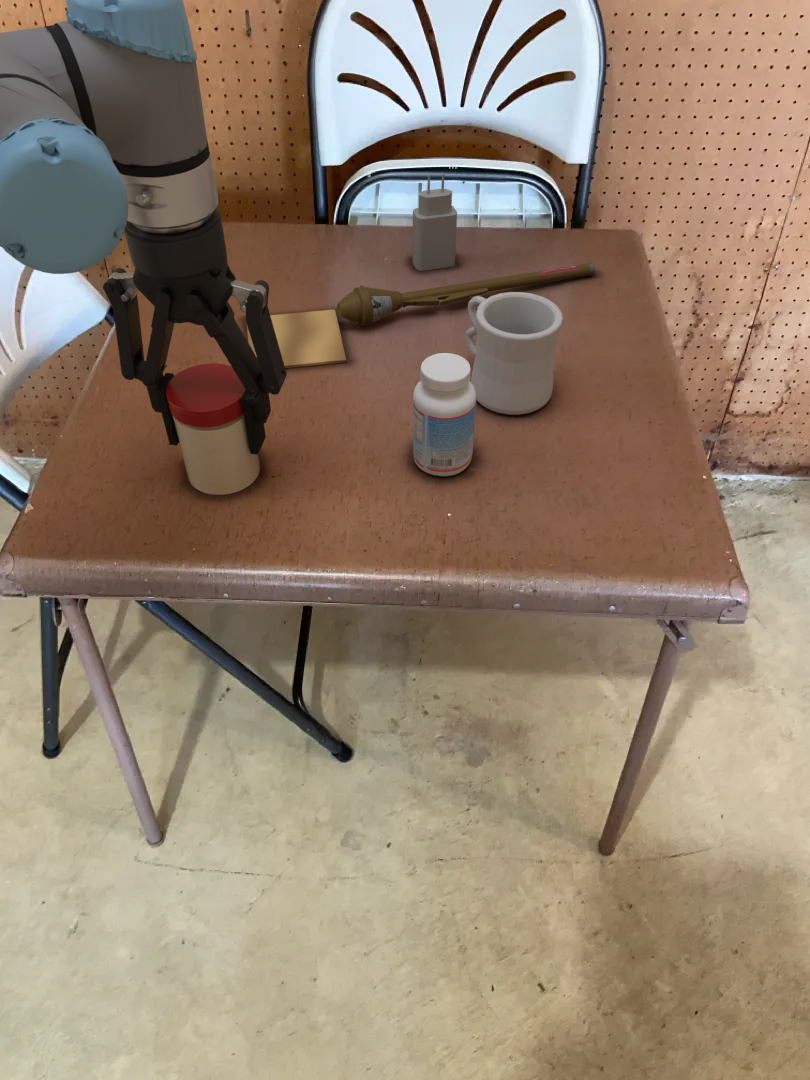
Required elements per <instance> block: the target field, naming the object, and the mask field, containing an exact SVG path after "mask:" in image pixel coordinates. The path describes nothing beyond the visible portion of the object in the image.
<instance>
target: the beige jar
mask: <svg viewBox="0 0 810 1080" xmlns="http://www.w3.org/2000/svg"><path fill="white" fill-rule="evenodd" d="M173 419H174V423H175V427H176V431H177V435H178V439H179V443H178V444H179V447H180V451H181V455H182V460H183V463H184V467H185V471H186V475H187V478H188V481H189V483H190V484H191V486H192V487H193V488H194V489H196V490H198V491H199V492H201V493H204V494H207V495H214V496H224V495H231V494H235V493H238V492H240V491H242V490H245V489H247V488H248V487H249V486H251V485H252V484H253V483H254V482H255V481H256V480H257V478H258V476H259V474H260V470H261V463H260V457H259V454H258V455H257V454H251V453H250V448H249V442H248V436H247V430H246V425H245V419H244V413H243V414H242V415H241V416H239V417H238V418H237V419H235V420H233V421H231V422H229V423H226V424H223V425H220V426H215V427H193V426H189V425H186V424H183V423H181V422H179V421H178V420H176V419H175V418H174V417H173Z"/></svg>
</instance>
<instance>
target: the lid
mask: <svg viewBox="0 0 810 1080" xmlns="http://www.w3.org/2000/svg"><path fill="white" fill-rule="evenodd" d="M245 390H246V389H245V388H244V386H243V384H242V383H241V381H240V379H239V378H238V376H237V374H236V373H235V371H234V369H233V368H232V366H231V365H230V364H224V363H215V362H214V363H213V362H211V363H201V364H197V365H193V366H190V367H187V368H185V369H183V370H181V371H180V372H178V373H176V374H174V377H173V378H172V379H171V380H170V382H169V383H168V385H167V388H166V396H167V400H168V404H169V408H170V411H171V414H172V415H173V417H174V418H175V419H176V420H178V421H179V422H181V423H183V424H186V425H189V426H193V427H215V426H220V425H223V424H226V423H229V422H231V421H233V420H235V419H237V418H238V417H239V416H241V415H242V414H243V407H242V402H241V398H242V396H243V394H244V392H245Z"/></svg>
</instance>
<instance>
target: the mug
mask: <svg viewBox="0 0 810 1080" xmlns="http://www.w3.org/2000/svg"><path fill="white" fill-rule="evenodd" d="M467 311H468V315H469V318H470V320H471V322H472V325H473V326H470V327H469V328H468V329H466V331H465V336H464V337H465V340H466V344H467V346H468V348H469V350H470V352H471V353H472V354H473V356H474V361H473V367H472V370H471V374H470V376H471V378H470V382H471V384H472V385H473V386H474V388H475V391H476V402H478V404H480V405H481V406H482V407H484V408H486V409H487V410H489V411H492V412H494V413H498V414H501V415H509V416H514V415H515V416H521V415H527V414H530V413H533V412H535V411H538V410H540V409H541V408H542V407H544V406H545V405H546V404H547V403H548V402H549V401H550V399H551V397H552V394H553V390H554V363H555V355H556V347H557V342H558V339H559V335H560V332H561V328H562V324H563V321H564V318H563V313H562V310H561V309H560V308H559V307H558V305H557V304H556V303H555V302H553V301H551V300H550V299H548V298H546V297H544V296H541V295H538V294H534V293H530V292H523V291H508V292H501V293H497V294H494V295H490V296H489V297H488V298H485V297H483V296H482V295H478V296H474V297H471V298H470V299H469V301H468V304H467ZM475 335H476V340H475V338H474V336H475Z"/></svg>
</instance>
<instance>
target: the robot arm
mask: <svg viewBox="0 0 810 1080" xmlns="http://www.w3.org/2000/svg"><path fill="white" fill-rule="evenodd" d="M65 3H66V10H65V16H66V19H67V20H64V21H58V22H55V23H53V24H51V25H45V26H39V27H32V28H25V29H18V30H17V29H16V30H10V31H3V32H0V248H2V249H3V250H4V251H5V253H7V254H8V255H10V256H11V257H12V258H13V259H14V260H16V261H17V262H19V263H20V264H22V265H23V266H26V267H28V268H30V269H32V270H34V271H38V272H40V273H41V272H42V273H45V274H52V275H66V274H75V273H78V272H82V271H85V270H88V269H91V268H92V267H95V266H96V265H99V263H101V262H103V261H104V260H105V259H106V258H107V257H109V256H110V255H111V253H113V251H114V250H115V249H116V247H117V246H118V245H119V243H120V241H121V239H122V237H123V235H124V236H125V241H126V244H127V248H128V252H129V256H130V260H131V263H132V265H133V266H134V271H126V270H125V269H124V268H122V267H117V268H115V270H114V271H113V272H112V273H111V274H110V276H109V277H108V278H107V279H106V281H105V282H104V283H103V285H102V289H103V291H104V293H105V296H106V297H107V299H108V301H109V304H110V306H111V307H112V314H113V319H114V328H115V335H116V341H117V342H116V343H117V349H118V357H119V365H120V372H121V375H122V377H123V378H124V379H125V380H128V381H132V380H134V379H135V380H138V381H140V382H142V384H143V385H144V386H145V387H146V390H147V394H148V397H149V401H150V405H151V408H152V410H153V411H154V412H155V413H160V414H161V417H162V420H163V425H164V428H165V431H166V435H167V439H168V443H169V446H176V447H177V446H178V445H179V444H180V443H179V439H178V435H177V431H176V427H175V423H174V419H173V415H172V414H171V411H170V408H169V404H168V400H167V396H166V388H167V385H168V383H169V382H170V380H171V379H172V378H173V377H174V376H175V373H172V372H165V373H164V371H165V370H166V368H167V367H168V364H167V360H168V355H169V351H170V345H171V342H172V338H173V332H174V328H175V324H185V323H190V324H192V325H197V326H203V328H204V330H205V331H206V334H208V336H209V337H210V338H213V339H214V340H215V341H216V344H218V346H219V348H220V350H221V351H222V353H223V355H224V356H225V358H226V360H227V361H228V363H229V366H232V368H233V369H234V371H235V373H236V374H237V376H238V378H239V379H240V381H241V383H242V384H243V386H244V388H245V389H246V390H245V392H244V394H243V396H242V398H241V402H242V407H243V413H244V419H245V425H246V430H247V436H248V442H249V448H250V453H251V454H257V455H258V456H259V454H260V452H261V450H262V447H263V445H264V442H265V440H266V438H267V435H266V428H265V424H267V421H268V419H269V417H270V414H271V411H272V407H271V400H270V394H271V395H278V394H280V392H281V390H282V388H283V385H284V382H285V380H286V378H287V375H288V374H287V370H286V368H285V366H284V362H283V359H282V355H281V352H280V348H279V345H278V341H277V338H276V334H275V331H274V327H273V323H272V320H271V316H270V315H271V313H270V310H269V306H268V304H269V296H270V295H269V294H270V285H269V284H268V282H267V281H266V280H263V279H259V280H257V281H256V282H255V283H254V284H252V283H249V282H245V281H242V280H238V279H237V277H236V275H235V274H234V272H233V271H232V269H231V267H230V266H229V263H228V252H227V245H226V239H225V232H224V227H223V221H222V214H221V212H220V210H219V209H218V208H217V207H218V205H219V195H218V189H217V184H216V179H215V172H214V167H213V161H212V155H211V151H210V147H209V142H208V135H207V128H206V121H205V115H204V108H203V100H202V94H201V88H200V87H201V86H200V80H199V79H200V78H199V72H198V66H197V60H198V55H197V52H196V50H195V48H194V42H193V38H192V33H191V28H190V23H189V19H188V15H187V11H186V8H185V3H184V0H65ZM139 292H140V293H141V294H142V295H143V296H144V298H146V299H147V300H148V302H150V303H151V305H152V306H153V313H152V314H153V315H152V319H151V323H150V327H151V331H150V332H151V333H150V338H149V343H148V348H147V353H146V358H145V353H144V344H143V334H142V326H141V325H142V324H141V317H140V316H141V315H140V309H139V307H140V306H139V300H138V293H139ZM231 297H234V298H236V299H237V301H238V305H239V307H240V308H239V309H240V311H241V312H242V313H245V323H246V327H247V326H248V330H249V333H250V336H251V339H252V343H253V346H254V349H255V353H256V355H255V354H254V352H253V350H252V348H251V347H250V345H249V343H248V339H247V338H246V337H245V335H244V332H243V331H242V330H241V328H240V326H239V324H238V323H237V320H236V319H235V312H234V310H233V307H231V305H230V303H229V300H230V298H231ZM256 356H257V357H256Z"/></svg>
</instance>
